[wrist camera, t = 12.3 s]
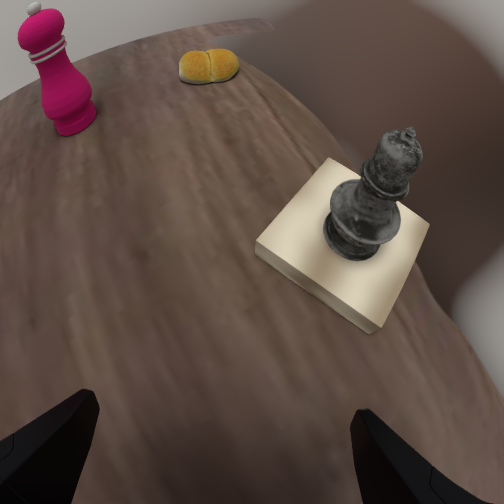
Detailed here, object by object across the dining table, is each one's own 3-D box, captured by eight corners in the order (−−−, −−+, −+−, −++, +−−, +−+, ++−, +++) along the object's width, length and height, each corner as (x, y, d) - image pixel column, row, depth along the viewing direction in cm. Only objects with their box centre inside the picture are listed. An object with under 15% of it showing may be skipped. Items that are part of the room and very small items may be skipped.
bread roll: (243, 82, 38) (243, 59, 35) (180, 90, 37) (177, 67, 34) (233, 58, 42) (233, 37, 38) (178, 65, 41) (175, 44, 37)
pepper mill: (79, 141, 33) (26, 10, 15) (46, 137, 33) (-6, 25, 15) (109, 106, 36) (73, -17, 18) (74, 105, 36) (36, -3, 18)
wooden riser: (418, 236, 28) (429, 224, 26) (368, 334, 23) (381, 328, 21) (323, 173, 31) (328, 157, 29) (254, 254, 26) (255, 240, 24)
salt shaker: (366, 199, 26) (419, 97, 16) (394, 255, 24) (472, 163, 13) (309, 210, 26) (346, 95, 15) (335, 272, 23) (401, 171, 12)
